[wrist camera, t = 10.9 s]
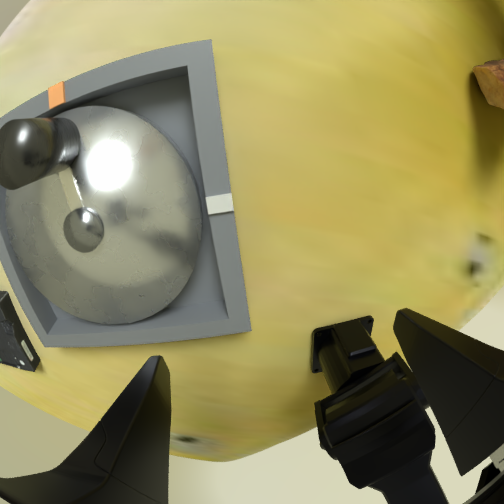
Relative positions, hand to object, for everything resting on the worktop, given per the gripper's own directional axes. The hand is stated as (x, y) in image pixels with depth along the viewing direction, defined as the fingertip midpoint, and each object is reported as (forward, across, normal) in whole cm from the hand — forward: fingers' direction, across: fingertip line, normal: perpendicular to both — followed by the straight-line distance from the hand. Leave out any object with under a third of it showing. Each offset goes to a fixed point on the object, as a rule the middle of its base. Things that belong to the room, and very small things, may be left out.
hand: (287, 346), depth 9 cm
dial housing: (+12, +11, -3) cm, 17 cm away
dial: (+11, +11, -3) cm, 16 cm away
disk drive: (+13, +34, +6) cm, 37 cm away
